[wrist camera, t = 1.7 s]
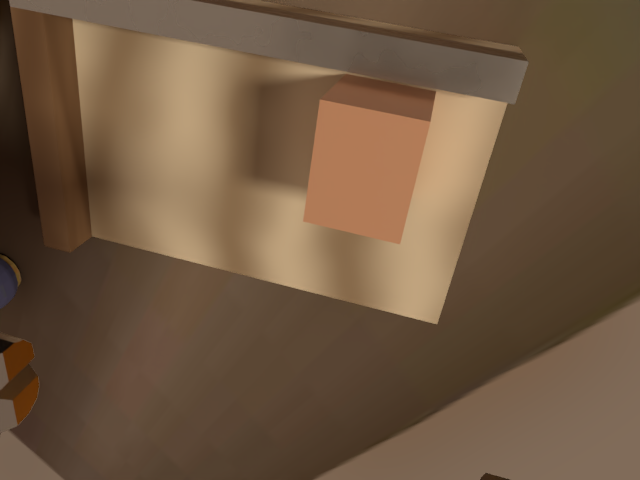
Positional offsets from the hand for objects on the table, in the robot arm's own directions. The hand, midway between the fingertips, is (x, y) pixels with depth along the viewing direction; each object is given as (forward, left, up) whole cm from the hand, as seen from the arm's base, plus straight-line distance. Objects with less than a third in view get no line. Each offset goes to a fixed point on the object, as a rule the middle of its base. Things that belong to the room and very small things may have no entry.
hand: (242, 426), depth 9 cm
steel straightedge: (+6, -4, -17) cm, 19 cm away
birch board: (+6, +2, -19) cm, 20 cm away
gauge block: (0, 0, -17) cm, 17 cm away
